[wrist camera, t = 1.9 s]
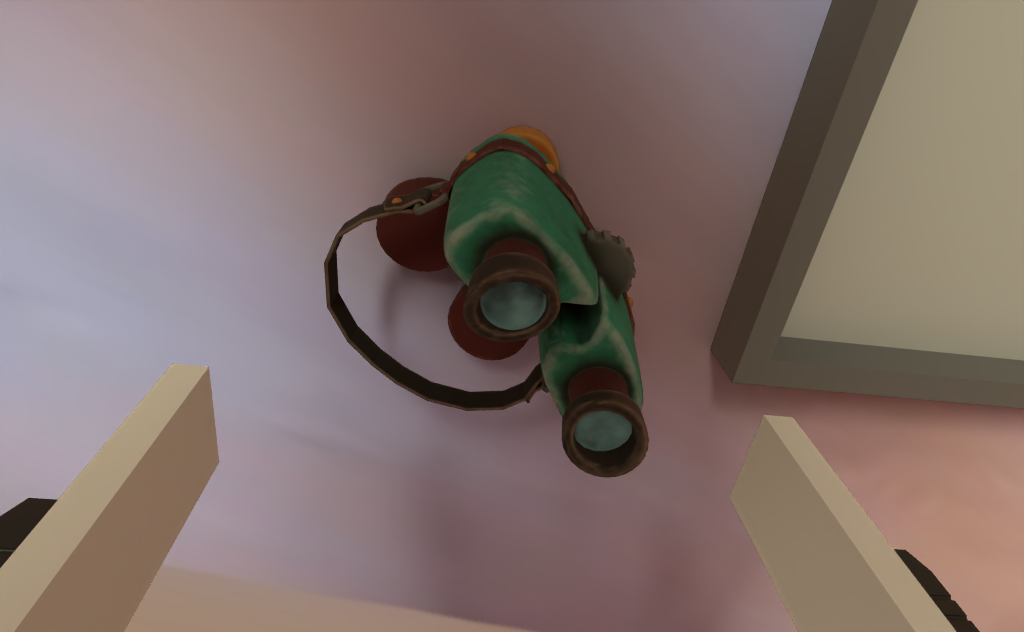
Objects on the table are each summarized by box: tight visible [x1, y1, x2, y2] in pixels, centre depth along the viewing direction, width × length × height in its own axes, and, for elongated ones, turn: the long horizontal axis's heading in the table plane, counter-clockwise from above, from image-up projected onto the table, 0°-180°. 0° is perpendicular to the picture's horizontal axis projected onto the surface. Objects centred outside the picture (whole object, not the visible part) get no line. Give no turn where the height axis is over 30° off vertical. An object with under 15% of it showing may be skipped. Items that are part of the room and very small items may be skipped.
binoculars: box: [324, 126, 649, 477], centre depth 19 cm, size 9×11×10 cm
